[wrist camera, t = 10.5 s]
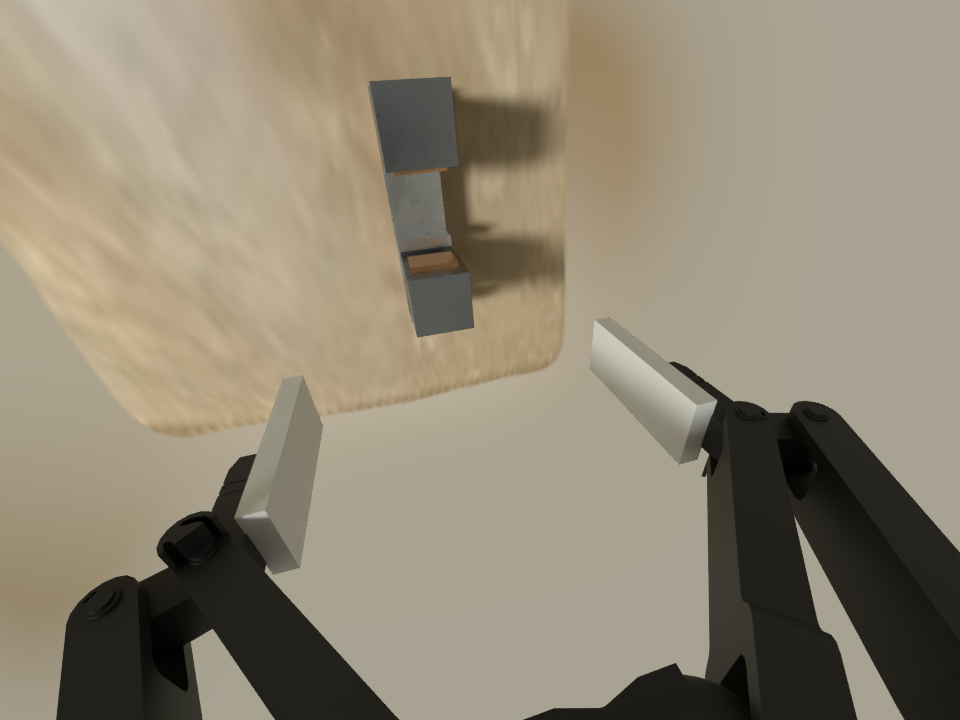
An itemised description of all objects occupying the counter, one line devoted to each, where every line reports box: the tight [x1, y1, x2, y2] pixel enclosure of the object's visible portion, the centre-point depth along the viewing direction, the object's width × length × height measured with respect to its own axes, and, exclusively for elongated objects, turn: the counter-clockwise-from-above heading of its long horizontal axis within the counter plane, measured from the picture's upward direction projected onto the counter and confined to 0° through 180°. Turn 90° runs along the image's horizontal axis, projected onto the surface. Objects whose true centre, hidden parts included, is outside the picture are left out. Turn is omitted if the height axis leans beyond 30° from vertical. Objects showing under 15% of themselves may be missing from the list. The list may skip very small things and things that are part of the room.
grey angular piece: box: [368, 77, 459, 323], centre depth 26 cm, size 16×4×10 cm, turn 4°
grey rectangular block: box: [400, 246, 474, 337], centre depth 28 cm, size 4×4×8 cm
